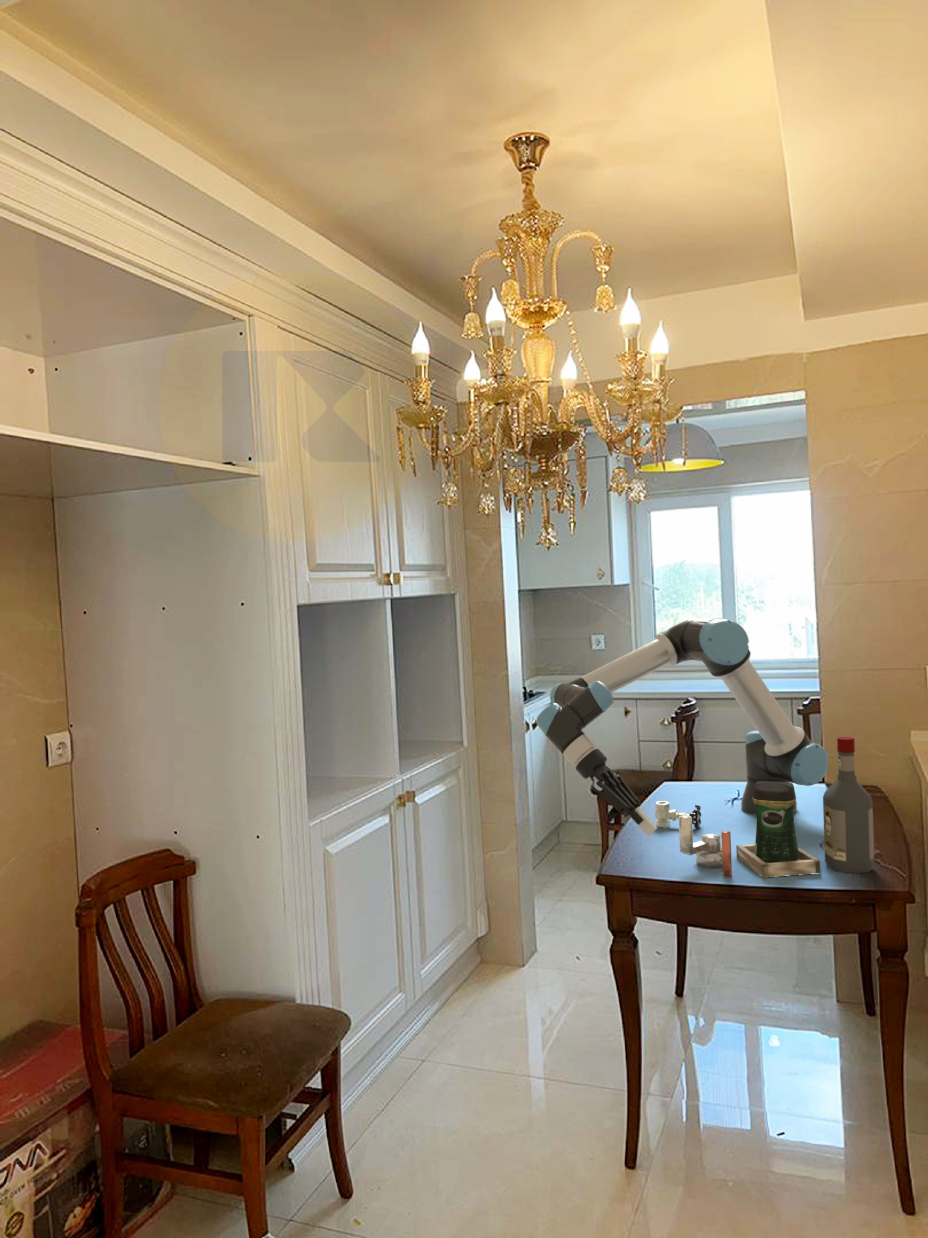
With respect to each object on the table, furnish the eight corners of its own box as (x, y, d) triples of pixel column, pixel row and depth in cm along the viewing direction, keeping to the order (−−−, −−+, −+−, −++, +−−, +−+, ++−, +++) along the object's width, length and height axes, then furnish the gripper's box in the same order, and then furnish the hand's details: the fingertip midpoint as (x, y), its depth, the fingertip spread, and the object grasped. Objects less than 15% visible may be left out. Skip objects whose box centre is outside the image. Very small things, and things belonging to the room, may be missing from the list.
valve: (653, 829, 247) (697, 832, 242) (652, 805, 246) (696, 808, 241) (658, 822, 253) (701, 825, 248) (657, 799, 252) (701, 802, 247)
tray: (789, 853, 220) (789, 841, 220) (820, 873, 205) (820, 860, 204) (736, 857, 219) (736, 845, 219) (763, 878, 203) (763, 865, 203)
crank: (709, 845, 218) (707, 806, 218) (724, 849, 215) (723, 809, 214) (675, 857, 211) (673, 816, 210) (690, 861, 207) (688, 820, 207)
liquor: (859, 860, 213) (856, 733, 211) (878, 872, 204) (874, 740, 202) (821, 862, 213) (817, 735, 211) (838, 874, 203) (834, 742, 202)
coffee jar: (800, 857, 213) (798, 779, 212) (796, 867, 206) (793, 787, 205) (758, 853, 218) (755, 777, 217) (752, 863, 211) (749, 784, 210)
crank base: (720, 858, 219) (718, 817, 219) (742, 876, 206) (741, 832, 205) (692, 860, 219) (690, 819, 218) (712, 878, 205) (711, 835, 205)
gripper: (587, 762, 229) (652, 835, 221) (564, 772, 218) (632, 849, 210) (606, 742, 226) (672, 815, 218) (583, 752, 215) (653, 829, 207)
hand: (652, 832), depth 214 cm, fingers closed
